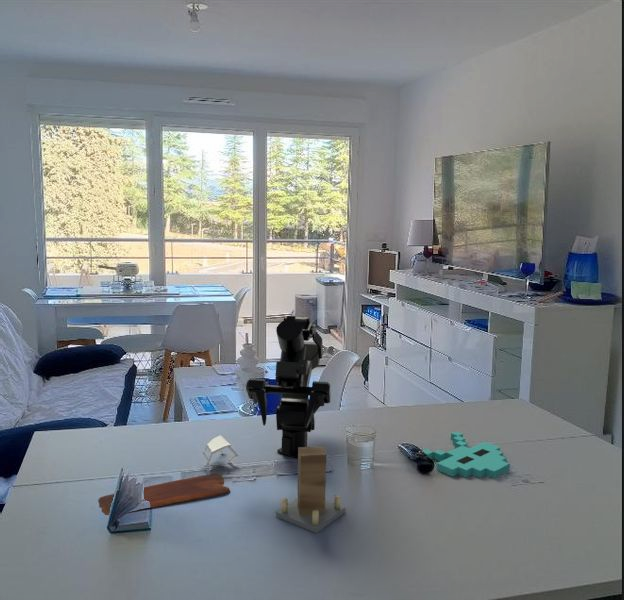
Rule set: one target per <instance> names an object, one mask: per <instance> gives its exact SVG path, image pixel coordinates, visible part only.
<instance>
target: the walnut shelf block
mask: <svg viewBox="0 0 624 600" xmlns="http://www.w3.org/2000/svg"><path fill="white" fill-rule="evenodd" d="M326 481H327V453H326V450H325V448H324V446H323V445H321V446H307V447H298V458H297V498H298V502H297V506H298V510H299V514H300V515H312V513H313V510H318V511H319V514H325V500H326V488H327V487H326V486H327V485H326V483H327V482H326Z"/></svg>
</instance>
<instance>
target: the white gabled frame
mask: <svg viewBox="0 0 624 600" xmlns="http://www.w3.org/2000/svg"><path fill="white" fill-rule="evenodd" d="M224 449H229V451H231V452H232V453H233V454H232V455H231V456H230V457H229V458H227V461H228V462H229V463H231V464H232V465H235V463H234V462H233V461H232V460H233V459H235V458H236V457H238V456H239V454H238V453H237V452H236V451H235V450H234V449H233V448H232V444H230V443H229V442H228V441H227V440H226V439H225V438H224V437H223V436H222V434H220V435H218V436H216V437H214V438H212V439H211V440H210V441H209V442H208V443H207V444H206V446H205V448H204V449H203V450H202V454H203V455H204V457H205V458H206V460H207V461H206V463H205V464H204V466H205V467H208V468H209V470H211V471H212V470H213V466H212V465H209V463H210V461H211V460H212V457H213V454H216V453H217V452H220V453H222V455H224V454H225V452H224V451H223V450H224ZM207 450H208V451H209V453H210V456H209V457H208V456H207V455H206V453H205V452H206V451H207Z"/></svg>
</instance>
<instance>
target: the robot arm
mask: <svg viewBox="0 0 624 600" xmlns="http://www.w3.org/2000/svg"><path fill="white" fill-rule="evenodd" d="M316 327H317V326H316V324H314V322H313V321H312V319H311V318H310V317H309V316H295V315H285V316H284V317H283V320H281V321H280V322H279V324H278V325H277V326H276V328H275V329H276V335H277V340H278V346H279V348H280V350H281V352H280V359H279V361H276V364H275V374H274V375H275V382H276V384H267V381H266V379H265V378H256V377H255V378H253V377H250V378H249V379H248V380H247V382H246V386H245V390H246V393H247V397H248V399H250V400H252V401H253V402H254V403H256V404H259V409H260V415H261V422H262V425H263V426H266V424H267V416H268V415H267V411H268V399H267V396H268V394H271V395H273V394H274V395H282V396H281V399H280V403H279V405H278V406H277V407H276V412H275V416H276V417H275V418H276V419H275V420H276V430H277V431H282V432H281V435H282V436H281V447H280V448H278V449H276V452H277V453H278V454H282V455H285V456H288V457H291V458H295V459H298V447H308V433H311V432H312V431H314V430H315V428H316V427H315V426H316V424H315V414H316V413H317V411H318V410H319V409H320V407H324V406H325V404H330V403H331V397H332V395H331V393H332V392H331V384H330V383H329V381H315V380H313V381H312V382H311V377H312V372H313V370H314V369H316V368H317V367H319V365H320V362H321V360H322V359H323V354H324V353H323V352H324V346H323V338H322V337H321V335H320V334H319V333H318V332H317V328H316ZM311 339H312V341H310V340H311ZM310 382H311V383H312V384H311V386H310Z"/></svg>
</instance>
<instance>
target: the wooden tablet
mask: <svg viewBox="0 0 624 600" xmlns="http://www.w3.org/2000/svg"><path fill="white" fill-rule="evenodd" d="M224 484H225V480H224V477H223V475H222V474H221V473H212V474H204V475H198V476H193V477H188V478H181V479H178V480H173V481H168V482H163V483H159V484H153V485H148V486H143V487H144V499H145V500H147V501H149V502H150V504H151V507H152V508H151V509H154V508H159V507H163V506H167V505H174V504H179V503H185V502H190V501H196V500H202V499H203V500H204V499H208V498H214V497H219V496H223V495H226V494H227V495H228V494H230V492H231V490H230V487H228V486H224ZM114 494H115V493H112V494H106V495H104V496H101V497H99V498H98V506H99V509H100V508H101V512H102V514H104V515H105V516H110V515H109V513H110V507H111V503H112V501H113V497H114Z"/></svg>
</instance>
